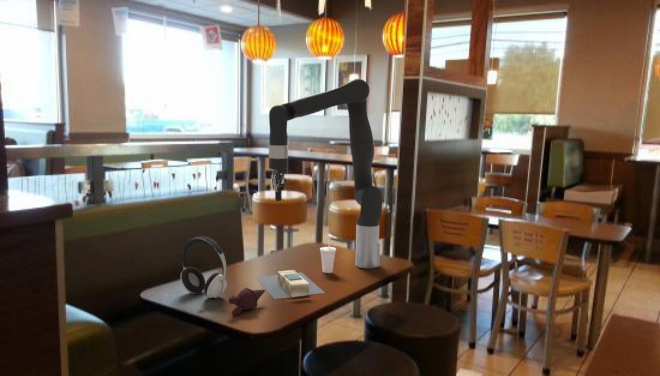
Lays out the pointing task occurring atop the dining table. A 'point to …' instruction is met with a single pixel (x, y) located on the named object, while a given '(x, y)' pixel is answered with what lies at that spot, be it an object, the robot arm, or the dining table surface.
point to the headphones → (195, 279)
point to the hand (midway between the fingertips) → (278, 200)
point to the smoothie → (327, 258)
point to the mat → (279, 292)
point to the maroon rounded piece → (245, 300)
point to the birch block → (293, 283)
